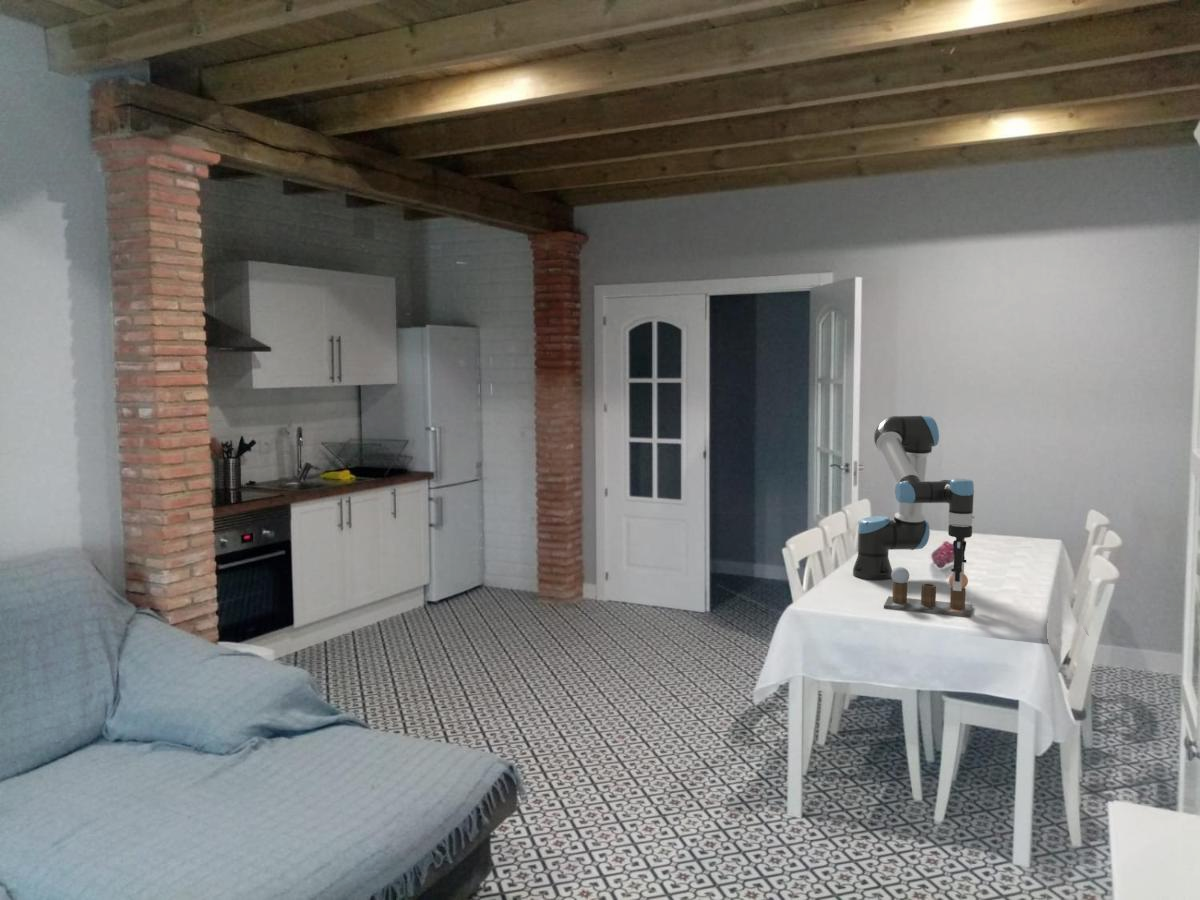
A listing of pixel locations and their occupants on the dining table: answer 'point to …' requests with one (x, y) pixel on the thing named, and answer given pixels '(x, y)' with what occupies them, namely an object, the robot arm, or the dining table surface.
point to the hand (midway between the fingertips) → (958, 585)
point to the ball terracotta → (964, 580)
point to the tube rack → (928, 601)
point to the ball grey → (900, 575)
